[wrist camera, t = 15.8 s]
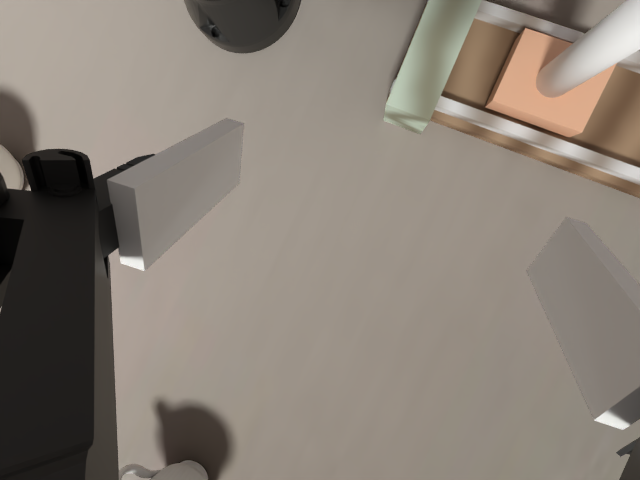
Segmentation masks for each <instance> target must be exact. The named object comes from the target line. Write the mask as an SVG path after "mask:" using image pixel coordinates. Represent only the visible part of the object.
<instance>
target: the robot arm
mask: <svg viewBox="0 0 640 480" xmlns="http://www.w3.org/2000/svg"><path fill="white" fill-rule="evenodd" d="M184 2H185V4H186V7H187V10H188V12H189V14H190V16H191V18H192V20H193V21H194V23H195V24H196V26H197V27H198V28H199V29H200V31H201V32H202V33H203V34H204V35H205V36H206V37H207V38H208V39H209V40H210V41H211V42H213V43H214V44H215V45H217V46H218V47H220V48H222V49H224V50H227V51H230V52H235V53H251V52H256V51H259V50H262V49H264V48H266V47H268V46H270V45H272V44H273V43H275V42H276V41H277V40H278V39H279V38H280V37H282V35H283V34H284V33H285V32H286V31H287V30H288V28H289V27H290V25H291V24H292V22H293V20H294V18H295V16H296V14H297V11H298V8H299V5H300V0H184ZM243 130H244V123H242V122H238V121H235V120H231V119H228V118H226V119H224V120H222V121H220V122H218V123H216V124H214V125H212V126H210V127H208V128H206V129H204V130H203V131H201V132H199V133H197V134H195V135H193V136H191V137H189V138H187V139H185V140H183V141H181V142H179V143H177V144H175V145H173V146H171V147H170V148H168V149H166V150H164V151H162V152H160V153H158V154H156V155H155V154H151V155H146V156H141V157H137V158H135V159H133V160H131V161H129V162H127V163H126V164H123V165H121V166H119V167H117V169H113V170H111V171H109V172H107V173H105V174H102V175H100V176H98V177H96V178H94V179H93V175H92V170H91V165H90V160H89V158H88V156H87V155H85V154H83V153H81V152H78V151H74V150H68V149H46V150H41V151H36V152H33V153H31V154H28V155H26V156H25V157H24V158H23V159H22V162H23V166H24V169H25V172H26V175H27V178H28V181H29V185H30V188H31V191H27V190H18V189H9V188H7V186H6V183H5V181H4V178H3V176H2V174H1V173H0V308H1V306H2V308H1V312H0V480H119V470H118V446H117V422H116V398H115V374H114V350H113V326H112V302H111V278H110V262H109V257H108V255H109V254H111V253H112V252H113V251H114V250H116V249H117V248H118V249H119V255H120V260H121V263H122V264H125V265H128V266H131V267H134V268H137V269H140V270H143V271H145V270H146V269H147V268H148V267H150V266H151V265H152V264H153V263H154V262H155V261H156V260H157V259H158V258H159V257H160V256H161V255H162V254H164V253H165V252H166V251H167V250H168V249H169V248H170V247H171V246H172V245H173V244H174V243H175V242H177V241H178V240H179V239H180V238H181V237H182V236H183V235H184V234H185V233H186V232H187V231H188V230H189V229H191V228H192V227H193V226H194V225H195V224H196V223H197V222H198V221H199V220H200V219H201V218H202V217H203V216H205V215H206V214H207V213H208V212H209V211H210V210H211V209H212V208H213V207H214V206H215V205H216V204H217V203H219V202H220V201H221V200H222V199H223V198H224V197H225V196H226V195H227V194H228V193H229V192H230V191H232V190H233V189H234V188H235V187H236V186H237V185H238V184H239V181H240V168H241V156H242V143H243ZM526 271H527V273H528V276H529V278H530V280H531V282H532V285H533V287H534V289H535V291H536V293H537V296H538V298H539V300H540V302H541V304H542V307H543V309H544V311H545V313H546V315H547V318H548V320H549V322H550V324H551V326H552V329H553V331H554V333H555V335H556V338H557V340H558V342H559V344H560V346H561V349H562V351H563V353H564V355H565V357H566V360H567V362H568V364H569V366H570V368H571V371H572V373H573V375H574V377H575V379H576V382H577V384H578V386H579V388H580V391H581V393H582V395H583V397H584V399H585V402H586V404H587V406H588V408H589V410H590V413H591V415H592V417H593V419H594V420H595V421H598V422H601V423H604V424H607V425H610V426H613V427H616V428H619V429H622V430H624V429H625V428H627V427H628V426H630V425H631V424H633V423H634V422H636V421H637V420H639V419H640V285H639V283H638V282H637V281H636V280H635V279H634V278H633V276H632V275H631V274H630V273H629V272H628V271H627V269H626V268H625V267H624V266H623V265H622V264H621V262H620V261H619V260H618V259H617V258H616V257H615V255H614V254H613V253H612V252H611V251H610V250H609V249H608V247H607V246H606V245H605V244H604V243H603V242H602V240H601V239H600V238H599V237H598V236H597V235H596V233H595V232H594V231H593V230H592V229H591V228H590V226H589V225H588V224H587V223H585V222H582V221H578V220H575V219H571V218H568V217H566V218H565V219H564V221H563V222H562V223H561V225H560V226H559V227H558V229H557V230H556V231H555V233H554V234H553V235H552V237H551V238H550V239H549V241H548V242H547V244H546V245H545V246H544V248H543V249H542V250H541V252H540V253H539V254H538V256H537V257H536V258H535V260H534V261H533V262H532V264H531V265H530V266H529V268H528V269H527V270H526ZM616 453H617V454H618V455H620V456H623V455H624V454H630V457H629V459H628V461H627V464H626V466H625V468H624V470H623V473H622V475H621V477H620V479H619V480H640V437H639V438H638V439H636V440H635V441H633V442H631V443H630V444H628V445H627V446H625V447H623V448H622V449H620V450H619V451H618V452H616Z"/></svg>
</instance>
